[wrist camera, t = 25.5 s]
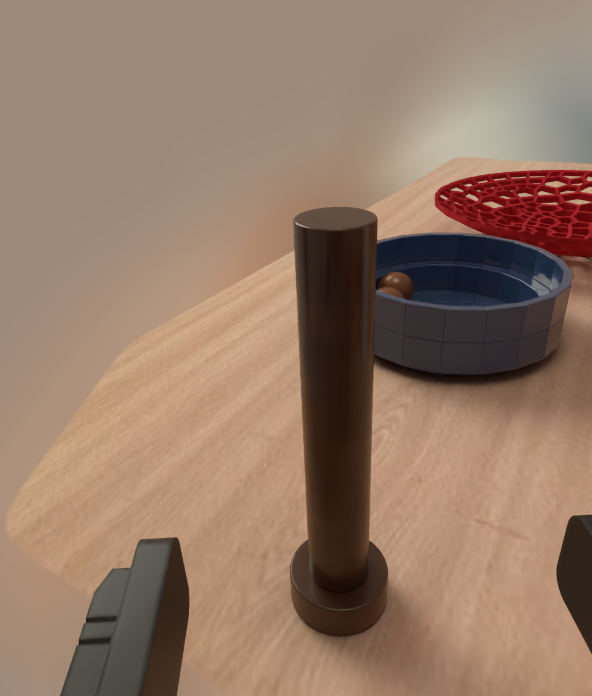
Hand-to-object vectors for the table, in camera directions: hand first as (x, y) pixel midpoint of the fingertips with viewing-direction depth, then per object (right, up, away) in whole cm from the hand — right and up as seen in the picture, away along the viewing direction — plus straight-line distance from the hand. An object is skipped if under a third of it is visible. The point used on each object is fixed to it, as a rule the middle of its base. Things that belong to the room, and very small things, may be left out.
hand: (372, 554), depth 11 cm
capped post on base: (0, -6, +12) cm, 13 cm away
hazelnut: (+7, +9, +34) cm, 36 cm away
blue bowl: (+10, +6, +33) cm, 35 cm away
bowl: (+28, +16, +50) cm, 59 cm away
